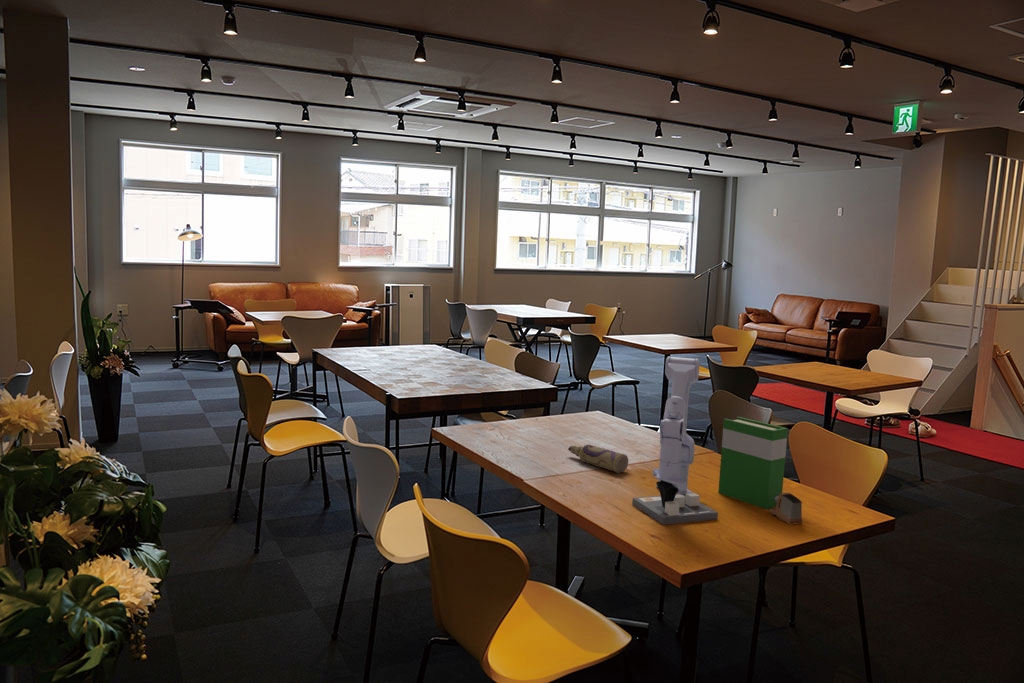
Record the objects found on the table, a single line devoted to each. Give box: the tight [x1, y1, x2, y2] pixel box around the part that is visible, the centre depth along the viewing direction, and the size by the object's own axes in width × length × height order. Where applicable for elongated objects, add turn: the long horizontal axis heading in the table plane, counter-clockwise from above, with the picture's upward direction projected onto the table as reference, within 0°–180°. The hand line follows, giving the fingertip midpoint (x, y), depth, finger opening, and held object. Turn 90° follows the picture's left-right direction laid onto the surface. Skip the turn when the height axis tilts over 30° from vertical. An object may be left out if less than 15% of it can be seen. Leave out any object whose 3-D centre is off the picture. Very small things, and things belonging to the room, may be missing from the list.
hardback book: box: [717, 416, 789, 510], centre depth 225 cm, size 18×7×24 cm, turn 37°
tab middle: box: [674, 494, 685, 508], centre depth 210 cm, size 2×3×3 cm
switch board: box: [632, 494, 719, 526], centre depth 211 cm, size 17×18×2 cm
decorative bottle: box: [568, 444, 629, 474], centre depth 258 cm, size 26×8×7 cm, turn 40°
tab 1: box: [665, 501, 679, 515], centre depth 203 cm, size 2×3×3 cm
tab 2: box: [685, 492, 700, 506], centre depth 212 cm, size 2×3×3 cm
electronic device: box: [768, 492, 803, 525], centre depth 209 cm, size 4×10×8 cm, turn 17°
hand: (666, 507), depth 206 cm, fingers closed
